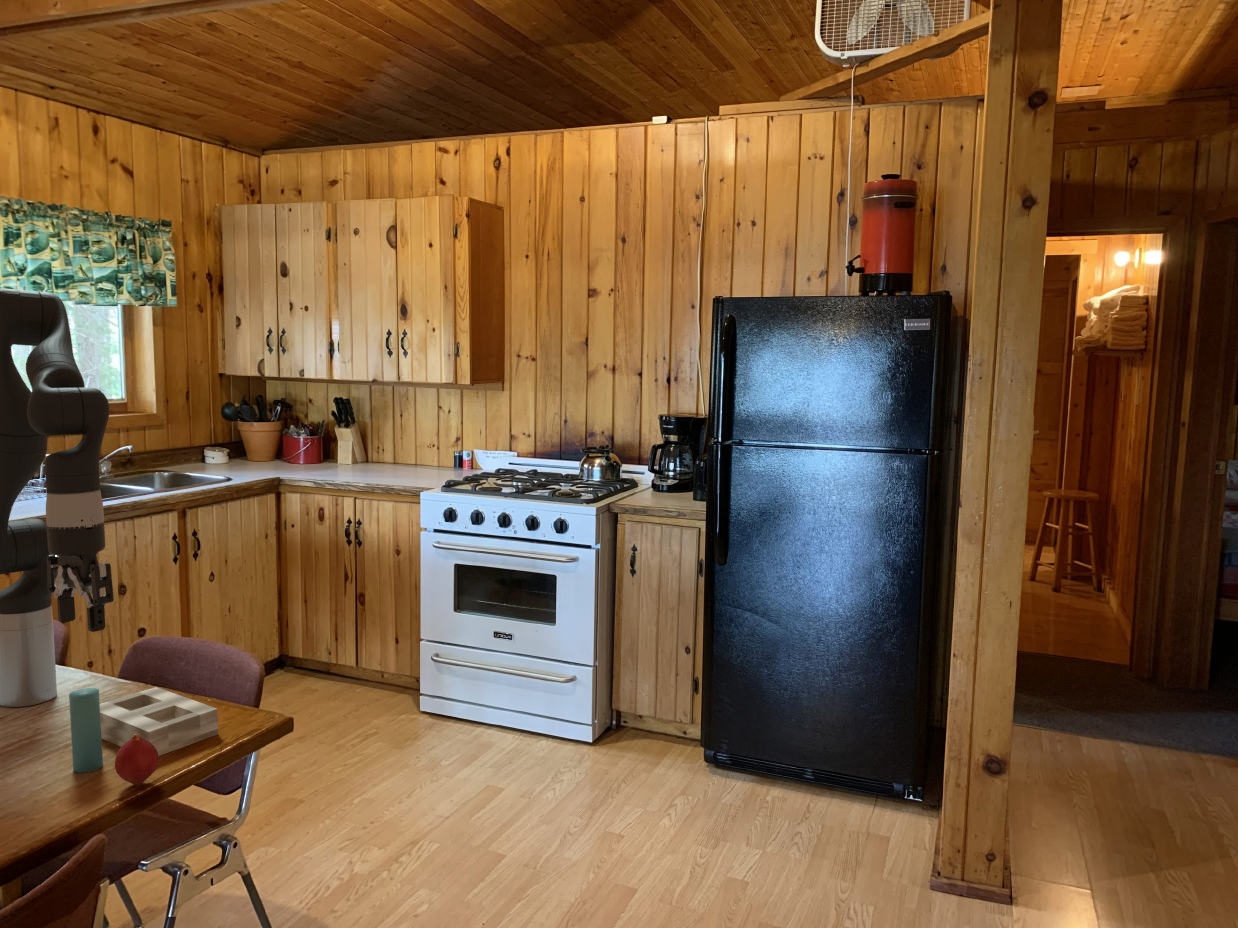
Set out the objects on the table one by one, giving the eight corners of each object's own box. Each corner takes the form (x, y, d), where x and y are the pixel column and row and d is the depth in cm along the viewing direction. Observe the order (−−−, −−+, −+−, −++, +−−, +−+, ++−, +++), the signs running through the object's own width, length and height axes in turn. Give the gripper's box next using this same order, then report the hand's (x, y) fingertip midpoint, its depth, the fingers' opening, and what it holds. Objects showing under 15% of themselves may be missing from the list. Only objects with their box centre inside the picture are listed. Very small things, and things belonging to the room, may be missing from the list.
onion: (110, 784, 141) (107, 732, 140) (151, 772, 145) (149, 722, 144) (123, 797, 137) (120, 744, 136) (165, 785, 141) (162, 733, 140)
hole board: (89, 733, 159) (87, 707, 159) (157, 711, 169) (156, 686, 169) (150, 759, 150) (148, 731, 149) (218, 734, 159) (217, 708, 159)
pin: (68, 768, 146) (63, 693, 144) (94, 759, 149) (90, 686, 148) (81, 775, 144) (77, 698, 142) (108, 765, 147) (104, 691, 146)
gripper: (25, 519, 143) (32, 624, 145) (75, 529, 135) (81, 639, 137) (76, 513, 149) (82, 613, 151) (126, 521, 141) (132, 627, 143)
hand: (81, 625), depth 144 cm, fingers open, 8 cm apart
